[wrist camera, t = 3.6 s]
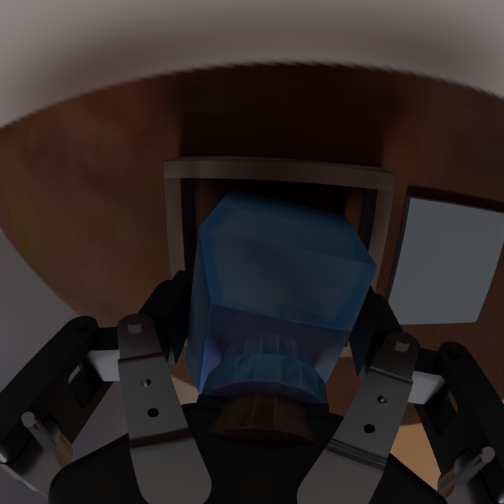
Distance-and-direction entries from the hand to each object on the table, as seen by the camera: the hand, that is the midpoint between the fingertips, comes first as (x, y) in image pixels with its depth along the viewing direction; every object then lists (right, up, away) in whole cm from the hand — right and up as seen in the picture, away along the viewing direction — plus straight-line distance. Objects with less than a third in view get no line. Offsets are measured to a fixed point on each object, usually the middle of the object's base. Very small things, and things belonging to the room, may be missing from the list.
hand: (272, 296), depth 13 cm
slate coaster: (+11, +1, +3) cm, 12 cm away
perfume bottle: (0, +2, +4) cm, 5 cm away
